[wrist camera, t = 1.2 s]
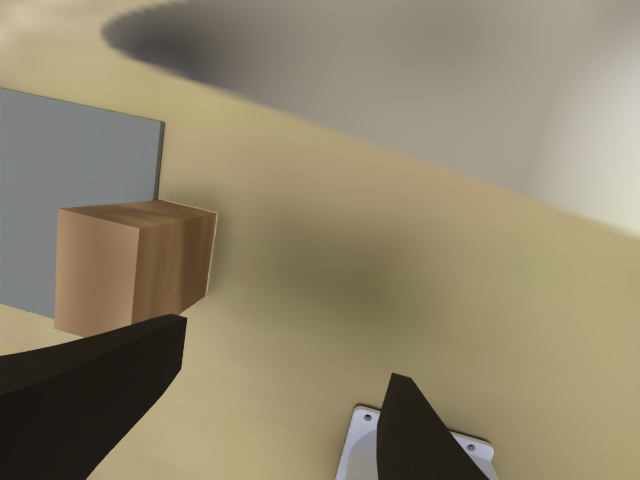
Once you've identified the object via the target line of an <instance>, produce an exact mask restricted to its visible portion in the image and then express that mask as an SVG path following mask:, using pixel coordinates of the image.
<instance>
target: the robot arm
mask: <svg viewBox="0 0 640 480" xmlns="http://www.w3.org/2000/svg"><path fill="white" fill-rule="evenodd" d="M186 325H187V318H186V317H182V316H178V315H175V314H167V315H162V316H159V317H155V318H151V319H148V320H145V321H141V322H138V323H135V324H132V325H128V326H125V327H122V328H118V329H115V330H112V331H108V332H105V333H101V334H97V335H94V336H90V337H86V338H82V339H79V340H75V341H71V342H67V343H63V344H59V345H55V346H50V347H46V348H41V349H36V350H31V351H26V352H21V353H16V354H10V355H3V356H0V480H86V479H87V477H88V476H89V475H90V474H91V472H92V471H93V470H94V469H95V468H96V467H97V466H98V464H99V463H100V462H101V461H102V460H103V459H104V458H105V456H106V455H107V454H108V453H109V452H110V451H111V450H112V449H113V448H114V447H115V446H116V445H117V443H118V442H119V441H120V440H121V439H122V438H123V437H124V436H125V435H126V434H127V433H128V432H129V431H130V430H131V428H132V427H133V426H134V425H135V424H136V423H137V422H138V421H139V420H140V419H141V418H142V417H143V416H144V415H145V413H146V412H147V411H148V410H149V409H150V408H151V407H152V406H153V405H154V404H155V403H156V401H157V400H158V399H159V398H160V397H161V396H162V395H163V393H164V392H165V391H166V389H167V388H168V387H169V385H170V384H171V383H172V381H173V380H174V378H175V377H176V375H177V374H178V373H179V371H180V370H181V366H182V358H183V349H184V341H185V333H186ZM365 415H370V417H366V416H365ZM470 444H471V445H472V446H468V445H470ZM493 455H494V450H493V447H492V445H491V444H490V443H488V442H486V441H482V440H479V439H475V438H472V437H468V436H465V435H461V434H458V433H454V432H451V431H449V430H448V429H447V427H446V426H445V425H444V423H443V422H442V421H441V419H440V418H439V417H438V415H437V414H436V412H435V411H434V410H433V408H432V407H431V405H430V404H429V403H428V401H427V400H426V398H425V397H424V395H423V394H422V393H421V391H420V390H419V388H418V387H417V385H416V384H415V383H414V381H413V380H412V379H411V378H410V377H406V376H402V375H399V374H395V373H392V375H391V379H390V382H389V385H388V389H387V392H386V395H385V399H384V402H383V405H382V409H381V411H378V410H374V409H371V408H367V407H364V406H357V407H356V408H355V409H354V411H353V415H352V419H351V422H350V426H349V430H348V433H347V437H346V441H345V444H344V448H343V452H342V455H341V459H340V463H339V466H338V470H337V474H336V478H335V480H499V478H498V476H497V474H496V472H495V470H494V467H493V465H492V463H491V460H492V457H493Z"/></svg>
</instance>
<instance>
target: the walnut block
mask: <svg viewBox="0 0 640 480" xmlns="http://www.w3.org/2000/svg"><path fill="white" fill-rule="evenodd" d="M218 215H219V213H218V212H214V211H210V210H205V209H201V208H197V207H193V206H188V205H184V204H180V203H176V202H172V201H167V200H156V201H143V202H131V203H119V204H106V205H94V206H82V207H69V208H58V225H57V258H56V291H55V324H54V329H58V330H61V331H65V332H68V333H72V334H75V335H79V336H82V337H85V338H86V337H90V336H94V335H97V334H101V333H105V332H108V331H112V330H115V329H118V328H122V327H125V326H128V325H132V324H135V323H138V322H141V321H145V320H148V319H151V318H155V317H159V316H162V315H167V314H175V315H179V314H180V313H182V312H183V311H185V310H186V309H187V308H189V307H190V306H192V305H193V304H195V303H196V302H197V301H199V300H200V299H202V298H203V297H204V296H206V295H207V292H208V285H209V278H210V271H211V264H212V257H213V250H214V243H215V236H216V229H217V222H218Z"/></svg>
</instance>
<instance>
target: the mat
mask: <svg viewBox="0 0 640 480" xmlns="http://www.w3.org/2000/svg"><path fill="white" fill-rule="evenodd" d="M164 124H165V123H163V122H160V121H155V120H150V119H145V118H141V117H136V116H131V115H126V114H122V113H117V112H112V111H107V110H102V109H98V108H93V107H88V106H83V105H79V104H74V103H69V102H64V101H59V100H55V99H50V98H45V97H40V96H36V95H31V94H26V93H21V92H16V91H12V90H7V89H2V88H0V303H1V304H4V305H8V306H11V307H15V308H18V309H22V310H25V311H29V312H32V313H36V314H39V315H43V316H46V317H50V318H53V319H55V291H56V258H57V225H58V208H69V207H82V206H94V205H106V204H119V203H131V202H143V201H156V200H157V194H158V184H159V174H160V164H161V154H162V144H163V134H164Z"/></svg>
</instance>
